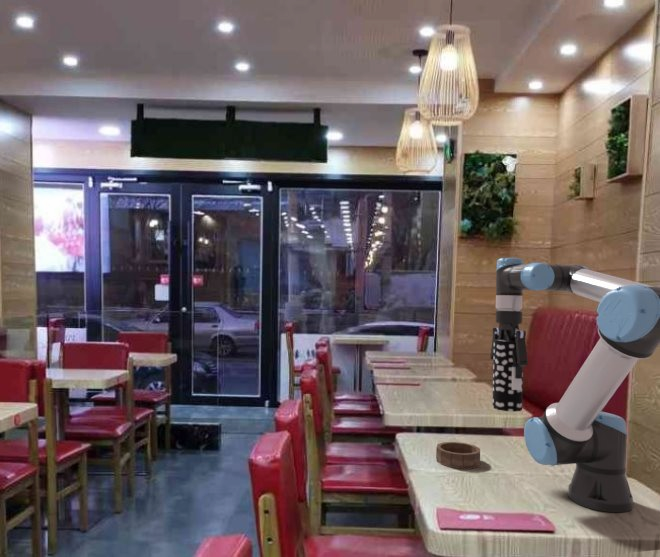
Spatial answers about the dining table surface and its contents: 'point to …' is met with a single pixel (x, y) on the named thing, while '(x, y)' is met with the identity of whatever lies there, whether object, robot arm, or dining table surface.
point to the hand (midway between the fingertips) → (507, 386)
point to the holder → (458, 455)
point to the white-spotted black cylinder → (505, 378)
